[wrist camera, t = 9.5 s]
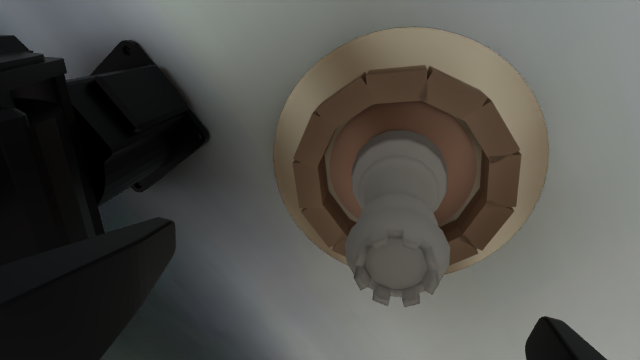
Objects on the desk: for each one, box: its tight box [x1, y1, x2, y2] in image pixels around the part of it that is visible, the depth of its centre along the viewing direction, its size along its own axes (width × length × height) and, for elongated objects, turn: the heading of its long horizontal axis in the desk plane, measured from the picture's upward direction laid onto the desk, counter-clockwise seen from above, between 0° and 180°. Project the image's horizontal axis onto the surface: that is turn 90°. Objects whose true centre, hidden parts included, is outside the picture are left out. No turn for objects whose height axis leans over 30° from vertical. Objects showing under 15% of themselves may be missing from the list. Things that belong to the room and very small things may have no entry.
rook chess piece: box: [345, 130, 450, 307], centre depth 14 cm, size 4×4×8 cm
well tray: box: [273, 27, 549, 274], centre depth 18 cm, size 13×13×3 cm
